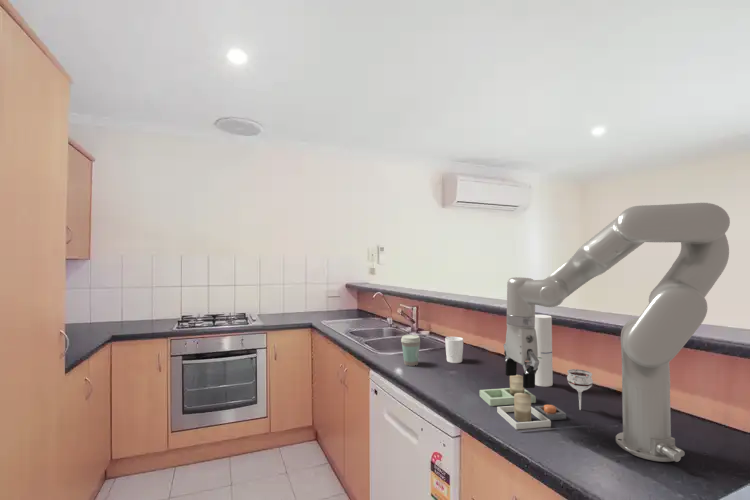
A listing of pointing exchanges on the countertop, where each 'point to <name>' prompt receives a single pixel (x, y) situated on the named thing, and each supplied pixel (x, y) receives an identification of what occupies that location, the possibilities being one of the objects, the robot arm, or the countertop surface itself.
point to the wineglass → (579, 381)
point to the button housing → (551, 416)
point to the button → (549, 408)
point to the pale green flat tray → (501, 396)
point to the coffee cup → (410, 349)
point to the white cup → (454, 349)
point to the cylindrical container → (544, 350)
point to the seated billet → (516, 384)
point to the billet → (522, 407)
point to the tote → (524, 425)
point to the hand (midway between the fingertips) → (519, 381)
